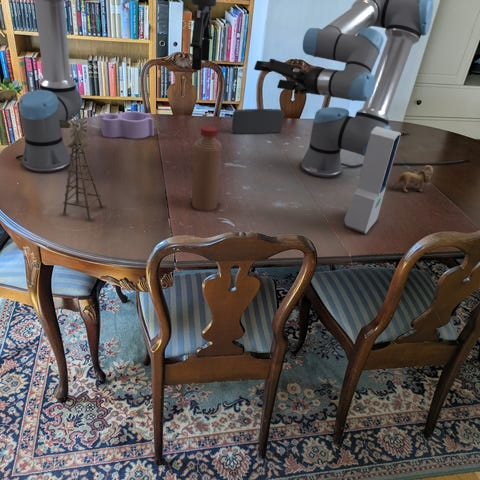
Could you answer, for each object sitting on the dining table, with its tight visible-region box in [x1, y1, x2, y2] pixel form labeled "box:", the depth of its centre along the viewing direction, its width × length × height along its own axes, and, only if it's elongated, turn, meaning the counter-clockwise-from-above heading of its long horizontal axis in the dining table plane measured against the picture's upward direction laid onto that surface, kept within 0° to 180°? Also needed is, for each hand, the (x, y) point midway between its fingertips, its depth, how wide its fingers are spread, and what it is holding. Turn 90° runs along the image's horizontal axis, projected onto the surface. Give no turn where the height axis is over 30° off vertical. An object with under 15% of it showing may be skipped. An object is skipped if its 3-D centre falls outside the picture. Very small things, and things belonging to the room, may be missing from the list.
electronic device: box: [343, 127, 402, 235], centre depth 137 cm, size 12×8×30 cm, turn 148°
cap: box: [200, 125, 218, 138], centre depth 133 cm, size 4×4×2 cm
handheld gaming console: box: [231, 108, 285, 135], centre depth 202 cm, size 23×3×10 cm, turn 108°
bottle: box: [191, 135, 223, 212], centre depth 139 cm, size 8×8×24 cm
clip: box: [100, 110, 155, 140], centre depth 188 cm, size 20×12×7 cm, turn 109°
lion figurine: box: [392, 165, 434, 193], centre depth 167 cm, size 15×5×9 cm, turn 110°
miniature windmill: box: [59, 109, 104, 220], centre depth 128 cm, size 9×8×30 cm
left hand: (200, 65), depth 149 cm, fingers open, 13 cm apart
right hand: (267, 74), depth 150 cm, fingers open, 13 cm apart
